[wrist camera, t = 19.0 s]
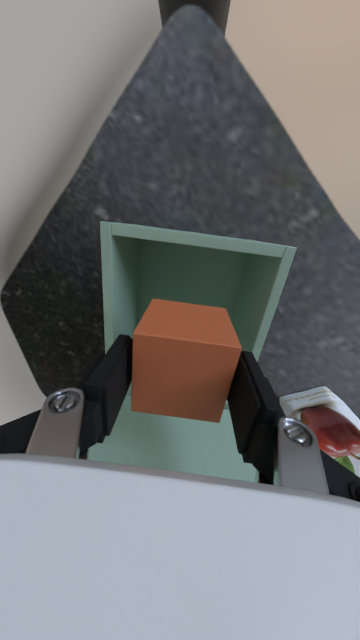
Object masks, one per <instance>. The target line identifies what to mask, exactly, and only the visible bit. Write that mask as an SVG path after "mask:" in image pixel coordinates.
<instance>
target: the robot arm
mask: <svg viewBox="0 0 360 640" xmlns="http://www.w3.org/2000/svg"><path fill="white" fill-rule="evenodd" d="M132 350H133V338H130V335H123V334H119V336H118V337H117V338H116V340H115V341H114V343H113V344H112V346H111V347H110V348H109V350H108V351H107V353H106V354H105V355H100V356H99V357H98V358H97V359H96V361H95V362H94V363H93V365H92V366H91V367H90V369H89V370H88V371H87V373H86V374H85V375H84V377H83V378H82V379H81V381H80V382H79V383H78V385H77V386H76V387H75V388H74V387H68V388H63V389H60V390H58V391H55V392H54V393H52V394H51V395H50V396H49V397H48V398H47V399H46V401H45V402H44V404H43V407H42V409H41V410H38V411H36V412H33V413H31V414H28V415H26V416H23V417H21V418H19V419H16V420H14V421H11V422H9V423H6V424H4V425H1V426H0V640H360V477H358V476H357V475H356V474H354V473H353V472H351V471H350V470H349V469H347V468H346V467H344V466H343V465H342V464H340V463H339V462H338V461H336V460H335V459H333V458H332V457H331V456H329V455H328V454H326V453H325V452H324V451H322V450H321V449H319V445H318V440H317V438H316V435H315V434H314V432H313V431H312V430H311V429H310V428H309V427H308V426H307V425H306V424H305V423H303V422H302V421H300V420H298V419H296V418H293V417H287V416H286V415H285V413H284V411H283V409H282V407H281V405H280V403H279V401H278V399H277V397H276V395H275V393H274V391H273V389H272V387H271V385H270V383H269V381H268V379H267V378H266V377H264V375H263V373H262V371H261V369H260V367H259V365H258V363H257V361H256V359H255V357H254V355H253V353H252V352H249V351H241V353H240V356H239V360H238V363H237V366H236V370H235V373H234V376H233V380H232V383H231V386H230V390H229V393H228V397H227V401H228V406H229V411H230V416H231V420H232V425H233V430H234V435H235V440H236V445H237V450H238V453H239V454H242V458H243V462H244V463H250V464H252V465H253V466H254V467H255V468H256V476H255V482H248V481H241V480H234V479H227V478H220V477H213V476H205V475H198V474H191V473H183V472H176V471H169V470H161V469H154V468H146V467H139V466H131V465H123V464H116V463H108V462H100V461H93V460H89V452H90V447H92V446H93V445H95V444H96V443H102V444H103V441H104V439H105V436H110V434H111V431H112V429H113V426H114V424H115V421H116V419H117V416H118V414H119V411H120V409H121V406H122V404H123V401H124V399H125V396H126V394H127V391H128V389H129V387H130V384H131V381H132Z"/></svg>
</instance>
